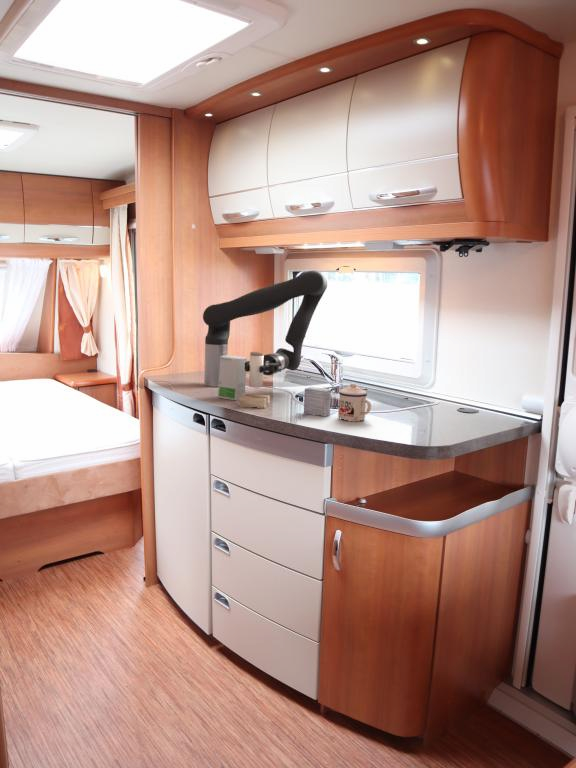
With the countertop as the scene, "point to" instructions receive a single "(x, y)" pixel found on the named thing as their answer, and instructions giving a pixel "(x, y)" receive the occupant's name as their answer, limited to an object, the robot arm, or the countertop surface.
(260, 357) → the spice jar
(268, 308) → the robot arm
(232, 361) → the skincare box
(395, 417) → the countertop surface
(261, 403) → the plinth
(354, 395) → the teacup with lid
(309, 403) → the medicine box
